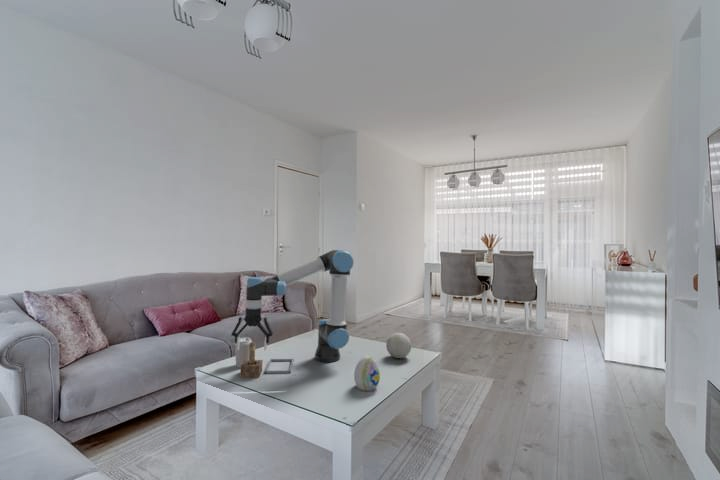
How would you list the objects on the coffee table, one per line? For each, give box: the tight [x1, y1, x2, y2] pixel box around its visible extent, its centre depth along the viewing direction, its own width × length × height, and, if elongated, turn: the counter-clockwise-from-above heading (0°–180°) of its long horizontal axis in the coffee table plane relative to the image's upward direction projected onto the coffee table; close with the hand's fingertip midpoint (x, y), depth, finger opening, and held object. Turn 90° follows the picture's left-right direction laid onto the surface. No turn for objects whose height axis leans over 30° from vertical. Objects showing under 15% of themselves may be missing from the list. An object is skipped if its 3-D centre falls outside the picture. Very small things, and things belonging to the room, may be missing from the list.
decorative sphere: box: [386, 332, 412, 359], centre depth 210 cm, size 15×15×15 cm
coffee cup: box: [233, 337, 253, 369], centre depth 187 cm, size 10×10×15 cm
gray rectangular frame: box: [264, 358, 295, 375], centre depth 187 cm, size 13×19×2 cm
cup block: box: [240, 359, 263, 379], centre depth 176 cm, size 9×9×6 cm
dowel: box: [249, 341, 256, 365], centre depth 176 cm, size 3×3×16 cm
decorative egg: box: [353, 355, 381, 392], centre depth 165 cm, size 12×12×15 cm
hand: (251, 349), depth 176 cm, fingers open, 13 cm apart
